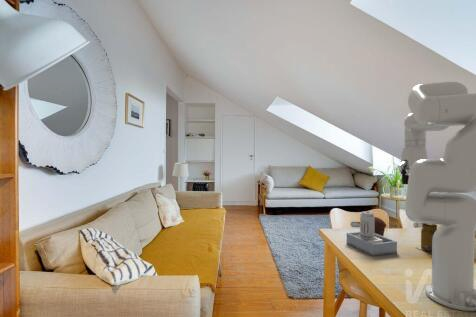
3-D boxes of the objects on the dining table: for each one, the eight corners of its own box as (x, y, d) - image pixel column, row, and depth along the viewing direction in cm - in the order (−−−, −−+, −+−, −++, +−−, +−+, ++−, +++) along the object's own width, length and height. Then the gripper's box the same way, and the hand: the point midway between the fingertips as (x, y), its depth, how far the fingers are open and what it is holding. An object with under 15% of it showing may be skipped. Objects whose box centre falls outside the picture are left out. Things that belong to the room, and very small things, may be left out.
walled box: (396, 253, 110) (397, 241, 110) (372, 256, 106) (372, 244, 106) (368, 240, 125) (368, 230, 125) (346, 243, 122) (346, 233, 122)
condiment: (428, 246, 118) (429, 221, 117) (446, 253, 109) (447, 226, 109) (415, 247, 116) (415, 222, 116) (432, 255, 108) (433, 227, 108)
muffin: (356, 234, 136) (356, 215, 135) (371, 231, 140) (371, 214, 140) (376, 241, 125) (376, 221, 125) (391, 238, 129) (391, 219, 129)
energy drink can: (357, 244, 118) (358, 212, 118) (363, 241, 122) (363, 210, 122) (371, 247, 114) (371, 214, 114) (376, 244, 118) (376, 212, 118)
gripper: (421, 145, 115) (421, 182, 115) (391, 144, 110) (391, 183, 111) (438, 144, 108) (438, 184, 108) (407, 144, 103) (406, 185, 103)
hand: (414, 183), depth 109 cm, fingers open, 9 cm apart
